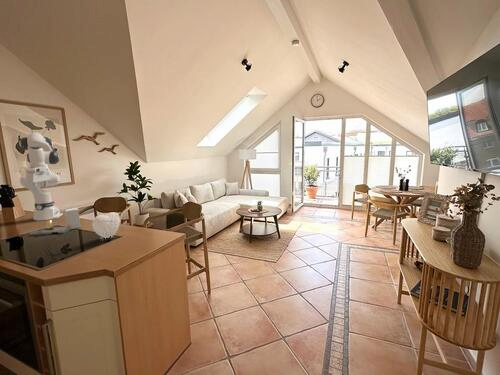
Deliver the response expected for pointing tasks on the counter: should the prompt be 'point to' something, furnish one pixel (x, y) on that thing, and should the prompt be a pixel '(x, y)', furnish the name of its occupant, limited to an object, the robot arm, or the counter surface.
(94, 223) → the decorative heart
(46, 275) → the counter surface
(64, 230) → the bar with square hole
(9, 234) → the counter surface
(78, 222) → the skincare box
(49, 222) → the pin
